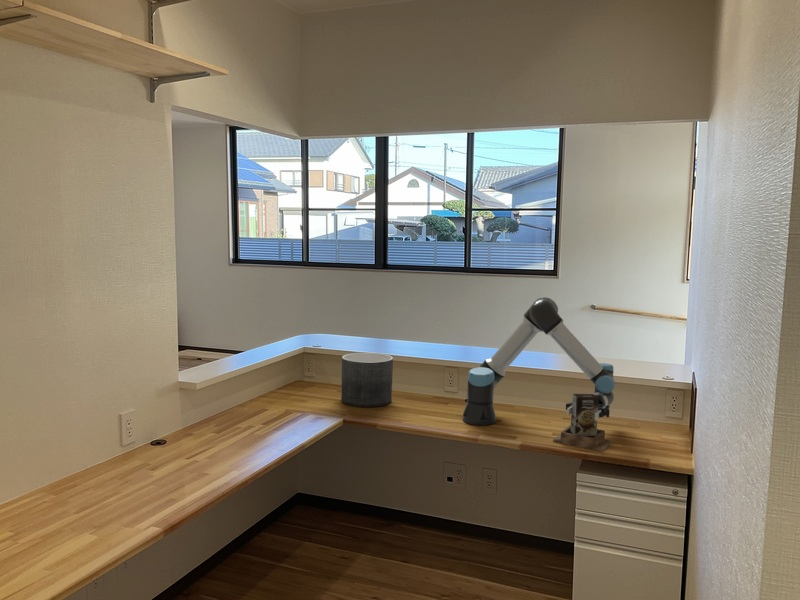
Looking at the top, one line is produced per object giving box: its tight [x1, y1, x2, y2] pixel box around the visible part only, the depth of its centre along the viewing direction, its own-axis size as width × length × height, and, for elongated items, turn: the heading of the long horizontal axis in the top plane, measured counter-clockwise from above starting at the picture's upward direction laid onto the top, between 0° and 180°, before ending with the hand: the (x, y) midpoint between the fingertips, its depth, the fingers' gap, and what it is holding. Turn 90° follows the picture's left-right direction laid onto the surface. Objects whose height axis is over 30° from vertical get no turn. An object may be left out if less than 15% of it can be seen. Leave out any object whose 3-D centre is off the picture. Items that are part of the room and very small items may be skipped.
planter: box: [340, 352, 394, 408], centre depth 302 cm, size 25×25×22 cm
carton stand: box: [552, 424, 613, 453], centre depth 249 cm, size 20×14×4 cm
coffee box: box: [570, 393, 599, 436], centre depth 248 cm, size 9×6×16 cm
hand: (581, 414), depth 244 cm, fingers closed on coffee box, 11 cm apart
